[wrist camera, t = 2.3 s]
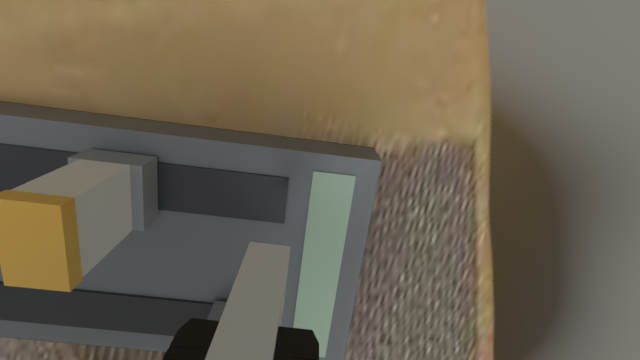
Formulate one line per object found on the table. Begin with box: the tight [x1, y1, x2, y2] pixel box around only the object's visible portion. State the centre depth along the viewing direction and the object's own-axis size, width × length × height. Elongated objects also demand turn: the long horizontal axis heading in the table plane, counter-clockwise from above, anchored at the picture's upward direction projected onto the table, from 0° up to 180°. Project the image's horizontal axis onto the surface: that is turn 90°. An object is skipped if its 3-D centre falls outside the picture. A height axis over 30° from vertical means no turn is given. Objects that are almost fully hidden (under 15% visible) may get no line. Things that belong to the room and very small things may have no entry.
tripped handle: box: [0, 149, 158, 292], centre depth 17 cm, size 4×4×7 cm
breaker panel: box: [0, 102, 382, 360], centre depth 20 cm, size 28×15×10 cm, turn 83°
